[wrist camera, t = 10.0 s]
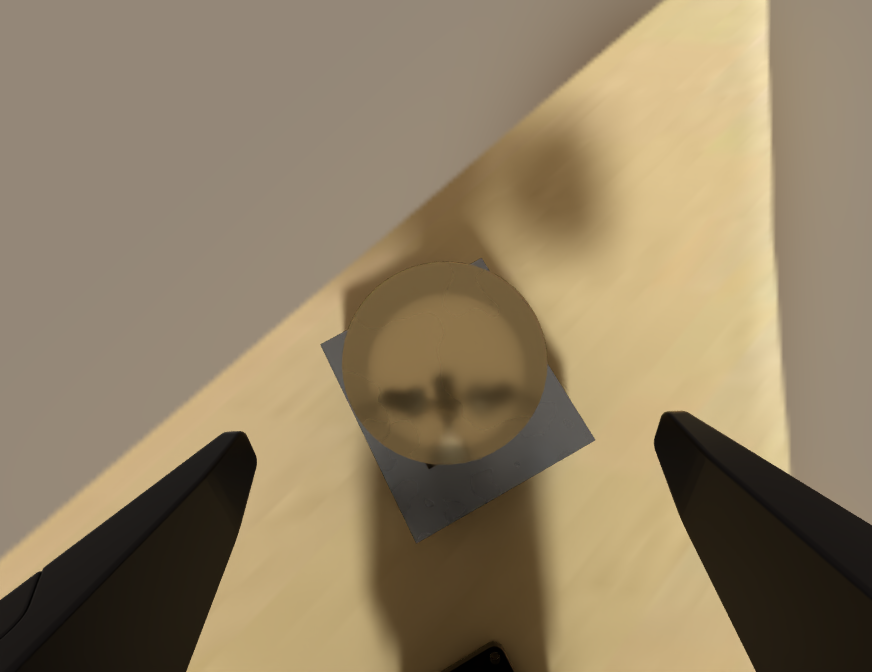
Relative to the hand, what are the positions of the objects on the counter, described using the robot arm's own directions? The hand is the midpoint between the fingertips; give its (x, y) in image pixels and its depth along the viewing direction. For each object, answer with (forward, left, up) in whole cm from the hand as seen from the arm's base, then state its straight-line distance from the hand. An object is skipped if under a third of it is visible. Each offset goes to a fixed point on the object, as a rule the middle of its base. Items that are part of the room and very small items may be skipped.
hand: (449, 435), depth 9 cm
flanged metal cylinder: (+1, +2, -14) cm, 14 cm away
